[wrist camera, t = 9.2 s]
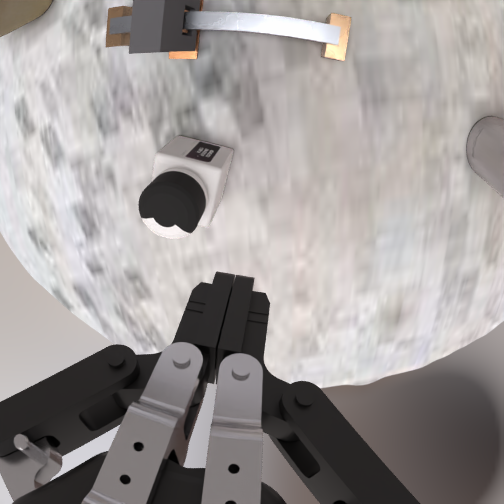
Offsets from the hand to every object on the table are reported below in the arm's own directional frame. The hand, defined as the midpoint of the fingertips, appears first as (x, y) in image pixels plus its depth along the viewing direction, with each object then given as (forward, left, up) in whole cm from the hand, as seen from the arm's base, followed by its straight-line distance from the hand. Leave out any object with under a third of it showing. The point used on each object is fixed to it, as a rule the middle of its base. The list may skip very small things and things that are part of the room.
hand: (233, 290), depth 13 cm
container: (+9, +7, -29) cm, 31 cm away
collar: (+12, -12, -27) cm, 32 cm away
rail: (+7, -12, -29) cm, 32 cm away
